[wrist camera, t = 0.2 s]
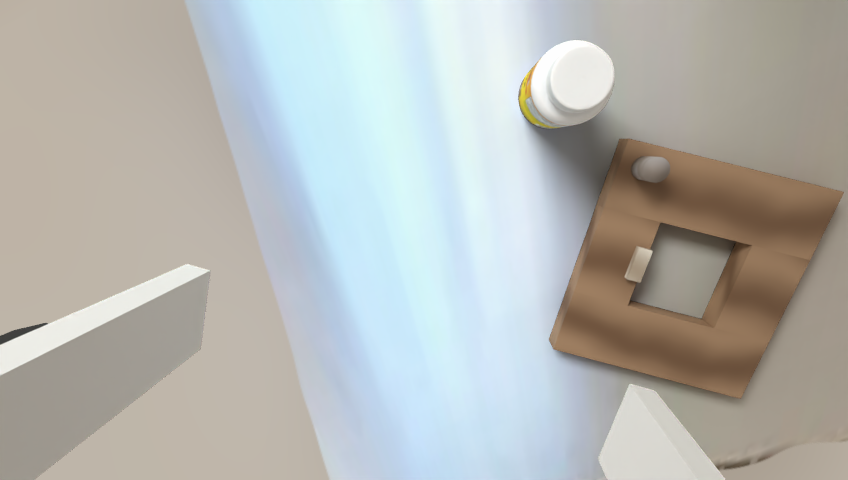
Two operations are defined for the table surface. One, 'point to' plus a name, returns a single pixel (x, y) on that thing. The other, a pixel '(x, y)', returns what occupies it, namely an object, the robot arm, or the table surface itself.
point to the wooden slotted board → (737, 287)
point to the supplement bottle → (567, 85)
